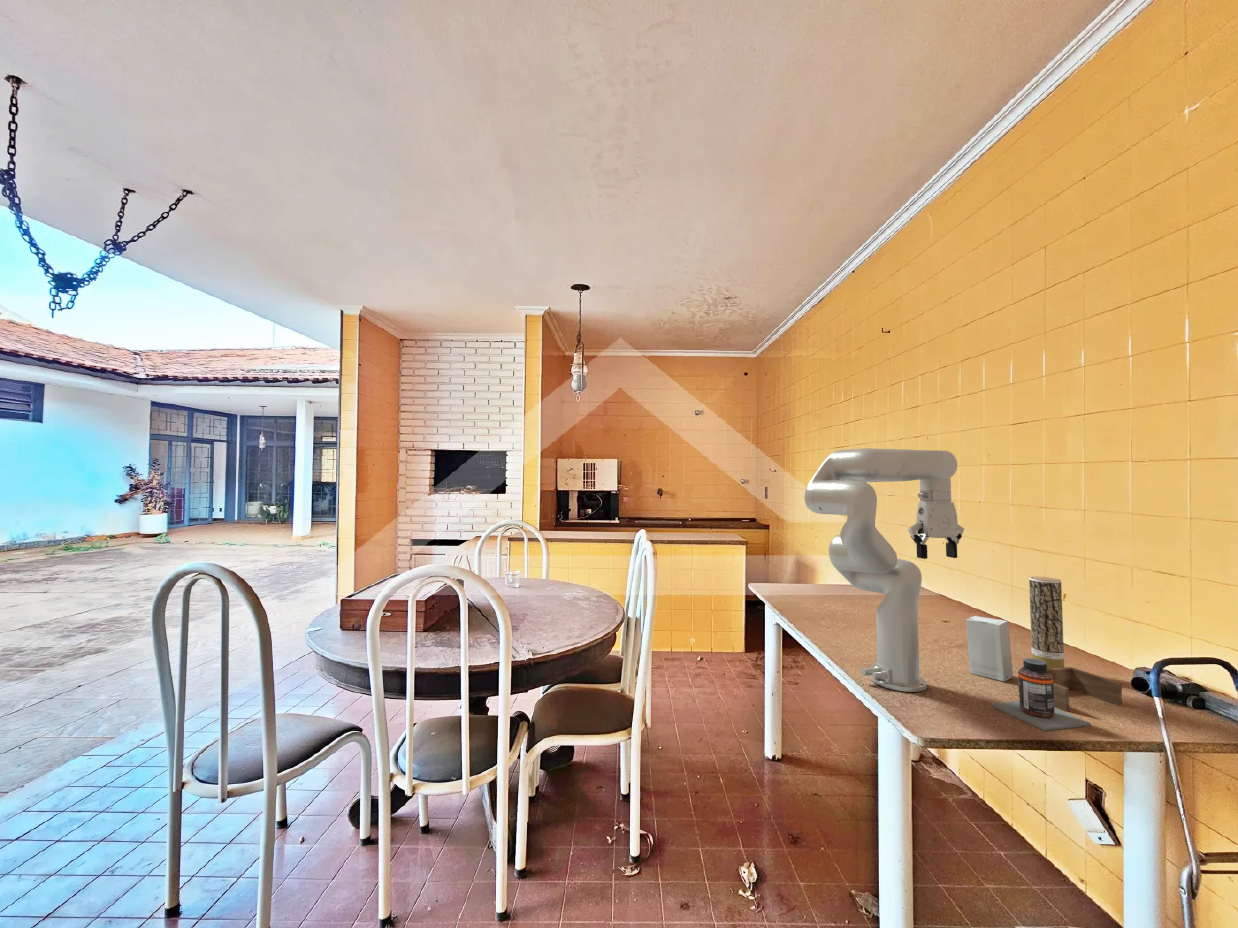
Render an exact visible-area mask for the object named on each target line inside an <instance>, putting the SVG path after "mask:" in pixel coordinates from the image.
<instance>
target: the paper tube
mask: <svg viewBox="0 0 1238 928" xmlns="http://www.w3.org/2000/svg"><path fill="white" fill-rule="evenodd" d="M1028 578H1029V579H1028V585H1029V608H1030V609H1029V614H1030V644H1031V645H1030V646H1031V658H1032V659H1038V660H1042V661H1044V662H1046V663H1047V669H1051V668H1063V667H1065V648H1064V624H1063V623H1064V622H1063V594H1062V593H1063V591H1062V589H1063V588H1062V580H1061V579H1059V578H1056V577H1055V578H1054V577H1049V576H1048V577H1047V576H1029V577H1028Z"/></svg>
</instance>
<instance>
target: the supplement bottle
mask: <svg viewBox="0 0 1238 928" xmlns="http://www.w3.org/2000/svg"><path fill="white" fill-rule="evenodd" d="M1022 665H1023V666H1022V667H1020V668H1019V669H1018V671H1019V687H1018V695H1019V696H1018V698H1019V701H1020V708H1021V710H1022V711H1024V712H1025V713H1027V714H1030V715H1032V716H1036V717H1041V718H1050V717H1053V716H1054V708H1055V707H1054V689H1053V676H1052V675H1051V674H1050V673H1049V672H1048V671H1047V670H1046V669H1047V663H1046V662H1044V661H1042V660H1038V659H1032V657H1027V658H1023V663H1022Z"/></svg>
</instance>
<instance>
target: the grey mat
mask: <svg viewBox="0 0 1238 928" xmlns="http://www.w3.org/2000/svg"><path fill="white" fill-rule="evenodd" d="M990 706H991V707H993V708H994V709H997V710H999V711H1001V712H1003V713H1005V714H1007V715H1009V716H1012V717H1014V718H1016V719H1018V720H1021V721H1023V722H1025V723H1027V724H1029V725H1031V726H1033V727H1036V728H1038V729H1040V730H1042V731H1045V732H1046V731H1053V730H1064V728H1065V729H1072V728H1081V727H1082V726H1083V727H1090V726H1091V727H1092V723H1091V722H1088V721H1087V720H1084V719H1082V718H1079V717H1078V716H1075V715H1072V714H1070V713H1067V712H1066V711H1064V710H1061V709H1059V708H1056V707H1054V716H1053V717H1050V718H1041V717H1036V716H1032V715H1030V714H1027V713H1025V712H1024V711H1022V710H1021V708H1020V700H1017V701H1006V702H996V703H991V705H990ZM1083 727H1082V728H1083Z"/></svg>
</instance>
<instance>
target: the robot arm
mask: <svg viewBox="0 0 1238 928" xmlns="http://www.w3.org/2000/svg"><path fill="white" fill-rule="evenodd" d="M957 470H958V460H957V458H956V456H955V455H954V454H953V453H952V452H950V451H949V450H941V449H940V450H938V449H936V450H935V449H934V450H932V449H930V450H929V449H923V450H922V449H921V450H920V449H905V448H903V449H901V448H870V447H869V448H865V447H864V448H855V449H854V448H852V449H838V450H834V451H833V452H832V453H830V454H829V455H828V456H827V457H826V458H825V459H824V460H823V462H822V463H821V464H820V466H819V467H818V468H817V470H816V472H815V474H814V475H813V476H812V477H811V479H810V481H809V482H808V483H807V486H806V488H805V490H804V496H803V497H804V503H805V505H806V508H807V509H809V511H811V512H813V513H814V514H815V513H816V514H821V515H835V516H836V515H837V516H847V517H846V522H845V523H844V524H843V526H842V527H841V530H840V534H837V535H836V536H835V537H833V538H832V539H831V540H830V543H829V545H828V557H829V561H830V562H831V564H832V566H833V567H834V568H835V569H836V570H837V572H838V573H839V574H841V576H842V577H844V579H845V580H846V581H848V583H849V584H850V585H851V586H853V587H854V588H855V589H857V590H862V591H866V592H872V593H876V594H882V595H884V598H883V599H882V601H881V602H880V603H879V604H878V606H877V607H876V612H875V620H876V621H875V622H876V661H874V662H873V664H872V665H871V667H861V668H860V670H859V671H860V675H861V676H863V677H869V676H870V679H871V681H872V682H873V683H874V684H876V685H879V686H881V687H883V688H886V689H889V690H894V691H898V692H904V693H905V692H907V693H916V692H918V693H919V692H923V691H925V690H926V689H927V688H928V683H927V681H926V680H925V678H923V677H921V676H920V675H921V674H920V646H919V645H920V644H919V643H920V642H919V640H920V639H919V635H920V634H919V599H920V592H921V586H922V580H923V578H922V577H923V576H922V572H921V569H920V568H919V567H918V566H917V565H916V564H915V563H914V562H912V561H909V560H906V559H902V558H898V556H897V552H896V550H895V549H894V547H893V546H892V545H891V544H890V542H889V541H888V540H887V539H886V538H885V537H884V536H883V534H881V532H880V531H879V529H877V526H876V518H877V517H876V516H877V507H878V506H877V505H878V498H877V494H876V491H875V488H874V487H873V485H871V484H870V483H886V482H887V483H893V482H910V481H919V493H917V497H918V498H919V501H918V504H917V509H916V523H915V524H913V525H912V526H910V527H908V528H907V531H908V532H909V533H908V534H909V535H910V538H911V540H912V541H913V542H914V544H916V557H917V558H918V559H923V560H928V557H929V556H928V544H926V542H928V540H929V538H932V539H943V538H944V539H945V540H946V541H947V542H945V553H946V554H945V556H946V557H947V558H953V559H957V558H958V544H960V540H961V539H962V537H963V533H964V531H965V528H964V527H963V526H961V525H959V524H958V521H959V520H958V515H957V514H958V513H957V509H956V505H955V503H954V501H953V502H952V483H951V481H952V479H951V478H952V477H954V475H955V474H956V472H957Z"/></svg>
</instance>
